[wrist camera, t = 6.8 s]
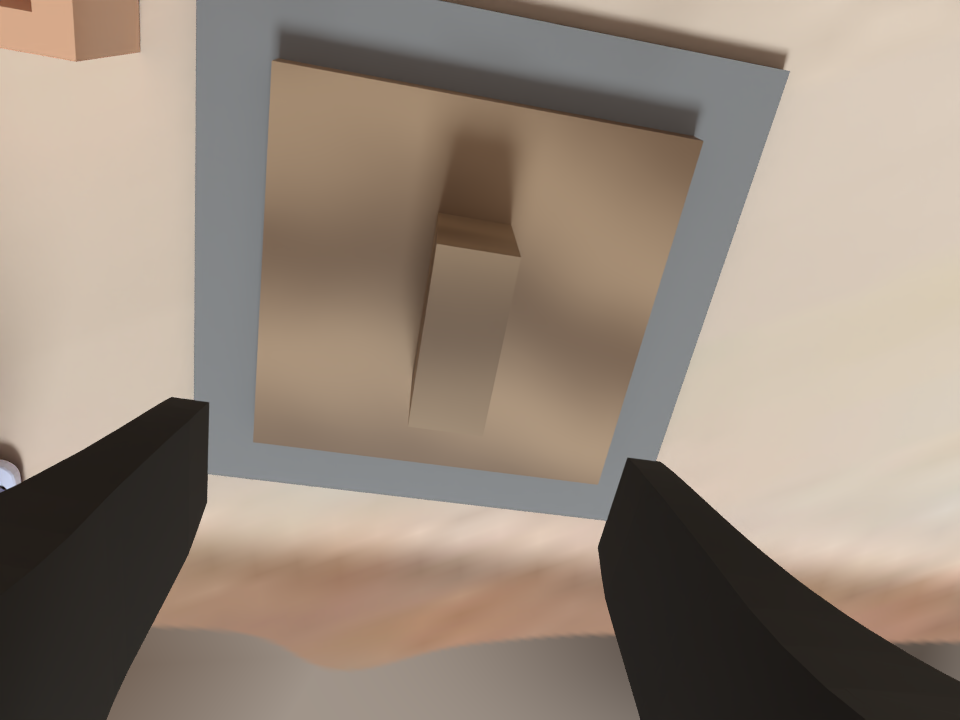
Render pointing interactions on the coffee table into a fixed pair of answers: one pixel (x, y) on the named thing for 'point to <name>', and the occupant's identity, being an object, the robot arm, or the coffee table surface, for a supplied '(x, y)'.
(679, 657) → the robot arm
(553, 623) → the coffee table surface
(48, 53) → the dish
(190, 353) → the coffee table surface
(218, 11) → the mat
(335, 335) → the lid
